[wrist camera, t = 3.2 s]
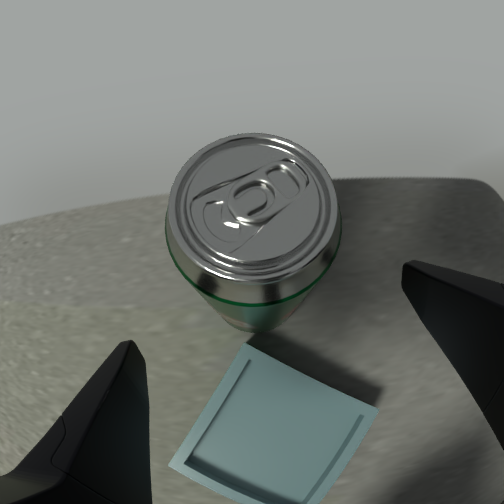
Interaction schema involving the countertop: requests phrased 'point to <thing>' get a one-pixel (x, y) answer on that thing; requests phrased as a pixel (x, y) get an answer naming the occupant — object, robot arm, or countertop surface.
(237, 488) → the tray
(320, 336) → the countertop surface
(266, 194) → the soda can
